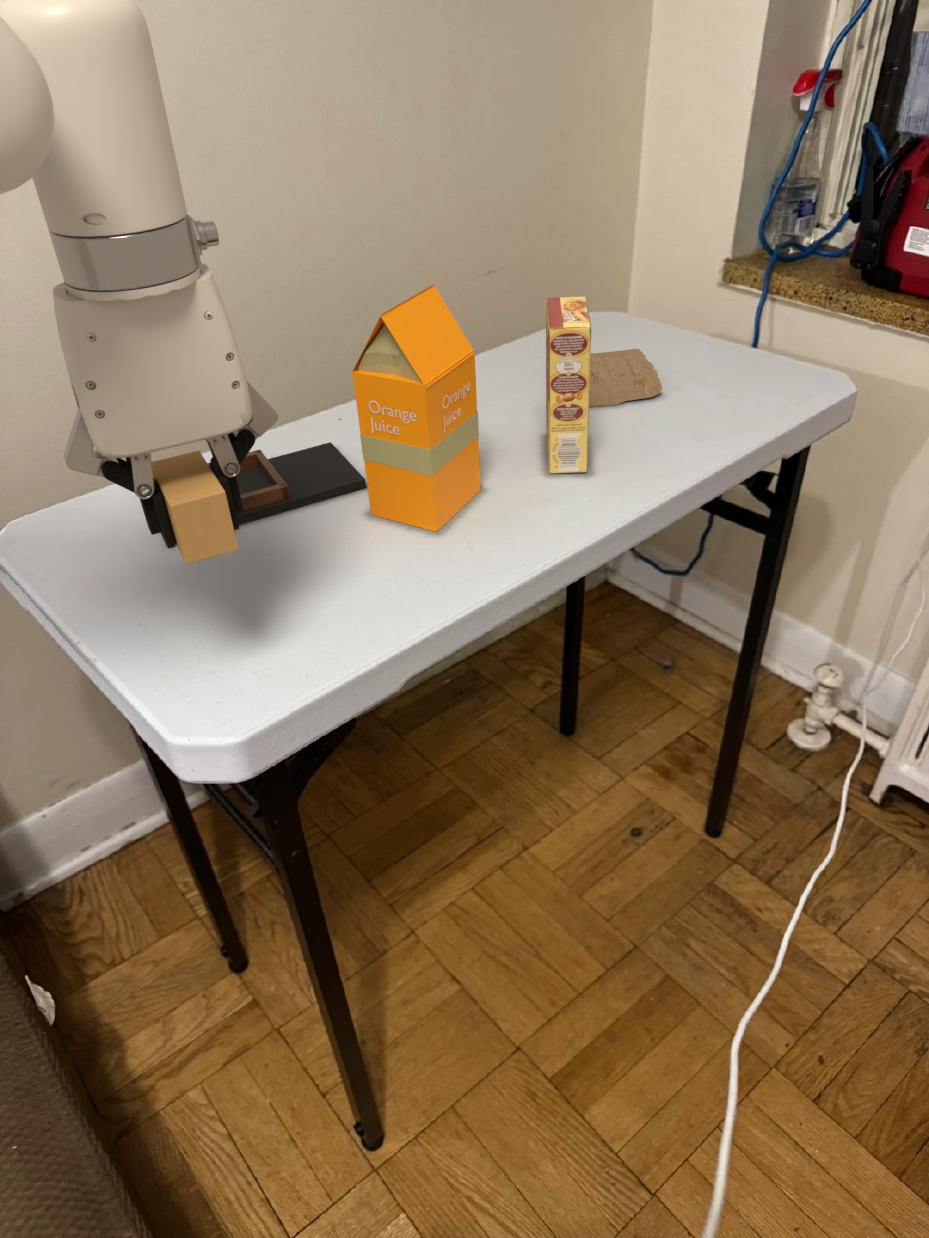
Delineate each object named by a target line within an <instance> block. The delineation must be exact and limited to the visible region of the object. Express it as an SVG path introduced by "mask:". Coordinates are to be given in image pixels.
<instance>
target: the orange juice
mask: <svg viewBox="0 0 929 1238" xmlns="http://www.w3.org/2000/svg"><path fill="white" fill-rule="evenodd" d="M475 354H476V352H475V349H474V348H473V346H472V345H471V344H470V342H469V340H468V339H467V337H466V335H465V334H464V332H463V331H462V328H461V327H460V325H459V323H458V322H457V321H456V319H455V317H454V316H453V314H452V312H451V311H450V309H449V307H448V305H447V304H446V302H445V300H444V299H443V297H442V296H441V293H440V292H439V291H438V289H437V288H436V286H435V283H434V284H432V285H430V286H427V288H424V289H423V290H422V291H420V292H418V293H416V294H414V295H412V296H411V297H409V298H407V299H405V300H404V301H402V302H400V303H399V304H397V305H395V306H393V307H392V308H390V309H389V310H386V311H384V312H383V313H381V314H380V316H379V318H378V320H377V323H376V324H375V325H374V328H373V330H372V332H371V334H370V336H369V338H368V340H367V342H366V344H365V345H364V348H363V350H362V352H361V353H360V355H359V357H358V359H357V361H356V364H355V365H354V368H353V369H352V371H351V374H352V381H353V388H354V396H355V403H356V408H357V409H356V410H357V418H358V426H359V433H360V434H359V437H360V444H361V452H362V460H363V462H364V470H365V476H366V477H365V478H366V486H367V491H368V498H369V507H370V515H371V516H374V517H379V518H382V519H386V520H390V521H394V522H396V523H401V524H404V525H409V526H413V527H416V528H419V529H424V530H427V531H430V532H431V531H432V532H435V533H437V532H438V531H440V530H441V529H442V528H443V527H444V526H445V525H446V524H447V523H448V522H450V520H451V519H452V518H453V517H455V515H456V514H457V513H458V512H459V511H461V510H462V509H463V508H464V507H465V506H466V505H467V504H468V503H469V502H470V501H471V500H473V498H474V497H475V496H476V495H477V494H479V493H480V492H481V490H482V487H481V486H482V485H481V466H480V464H481V463H480V443H479V441H480V440H479V437H480V431H479V412H478V399H477V398H478V397H477V395H478V394H477V376H476V373H477V372H476V355H475Z"/></svg>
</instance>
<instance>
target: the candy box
mask: <svg viewBox="0 0 929 1238" xmlns="http://www.w3.org/2000/svg"><path fill="white" fill-rule="evenodd" d="M586 298H587V297H586V296H563V297H548V298H547V299H546V300H545V301H546V303H545V304H546V307H545V309H546V310H545V403H546V404H545V410H546V411H545V412H546V413H545V414H546V418H545V419H546V445H547V459H548V472H549V474H567V473H568V474H569V473H570V474H571V473H573V474H574V473H587V472H588V462H589V460H588V458H589V429H590V427H589V426H590V406H589V396H590V360H591V354H592V321H591V318H590V312H589V307H588V303H587V299H586Z"/></svg>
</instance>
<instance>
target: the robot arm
mask: <svg viewBox="0 0 929 1238" xmlns="http://www.w3.org/2000/svg"><path fill="white" fill-rule="evenodd" d="M147 23H148V22H147V21H146V18H145V16H144V14H143V12H142V10H141V9H140V7H139V5H138V4H137V3H136V2H135V0H0V195H4V194H5V193H8V192H11V191H13V190H16V189H18V188H20V187H21V186H23V185H24V184H26V183H27V182H28V181H30V180H31V179H32V181H33V185H34V187H35V192H36V194H37V196H38V200H39V204H40V206H41V210H42V212H43V216H44V219H45V222H46V226H47V229H48V233H49V237H50V240H51V244H52V247H53V249H54V253H55V256H56V260H57V263H58V266H59V270H60V273H61V276H62V280H63V282H60V283H58V284H56V285H55V286H54V287H53V288H52V298H53V308H54V315H55V321H56V328H57V332H58V333H57V334H58V338H59V343H60V346H61V351H62V355H63V358H64V362H65V367H66V370H67V374H68V377H69V382H70V385H71V388H72V392H73V396H74V400H75V402H76V406H77V411H76V414H75V418H74V421H73V423H72V424H73V425H72V428H71V431H70V434H69V437H68V440H67V443H66V447H65V450H64V453H63V458H64V460H65V463H66V466H67V467H68V469H69V470H71V471H73V472H74V471H75V472H79V473H82V474H86V475H91V476H94V477H102V478H104V479H106V480H107V481H109V482H111V483H113V484H115V485H117V486H119V487H122V488H123V489H125V490H128V491H130V492H132V493H133V494H135V496H136V497H137V498H138V499H139V501H140V504H141V508H142V511H143V515H144V518H145V522H146V524H147V528H148V530H149V533H150V535H151V536H153V535H158V534H160V535H161V537H162V539H163V541H164V543H165V546H166V548H167V549H173V548H176V546H177V545H176V544H177V541H176V537H175V534H174V530H173V526H172V523H171V519H170V516H169V512H168V509H167V505H166V501H165V498H164V496H163V494H162V492H161V490H160V488H159V486H158V484H157V482H156V480H155V479H154V477H153V472H152V462H153V461H152V453H154V452H159V451H163V450H167V449H171V448H177V447H179V446H184V445H189V444H193V443H197V442H201V441H205V442H206V444H207V447H208V449H209V451H210V454H211V456H212V457H211V458H210V460H209V461H210V462H211V463H210V462H208V463H209V465H210V468H211V470H212V472H213V473H214V475H215V476H216V478H217V480H218V481H219V483H220V484H221V486H222V487H223V489H224V491H225V492H226V497H227V501H228V505H229V510H230V514H231V519H232V523H233V527H234V531H238V530H240V525H238V520H237V516H236V512H240V511H243V505H242V501H241V496H240V492H239V487H238V483H237V478H236V475H238V473H239V472H240V464H241V463H242V461H243V460H244V458H245V457H246V455H247V454H248V452H251V450H252V448H253V447H254V446H255V443H256V440H258V439H259V438H261V437H262V436H263V435H264V434H266V432H268V430H270V428H271V427H273V426H274V425H275V424H276V423H277V422H278V419H279V414H278V412H277V411H275V409H274V408H273V407H272V406H271V404H269V402H267V401H266V399H264V397H263V395H261V394H260V393H259V392H258V391H257V390H256V389H255V387H253V386H252V384H251V383H249V381H248V380H247V377H246V373H245V368H244V366H243V362H242V359H241V355H240V352H239V348H238V344H237V341H236V337H235V335H234V330H233V327H232V324H231V321H230V318H229V315H228V313H227V309H226V306H225V303H224V299H223V298H222V295H221V293H220V290H219V288H218V285H217V283H216V280H215V277H214V275H213V272H212V271H211V270H210V268H209V266H208V265H207V264H205V263H202V261H201V256H203V251H206V250H208V248H210V247H216V246H219V245H220V237H219V232H218V230H217V226H216V223H215V222H214V220H211V221H203V222H202V221H201V220H195V219H194V218H193V217H192V216H190V215H189V214H188V209H187V205H186V200H185V195H184V191H183V187H182V186H183V185H182V181H181V176H180V172H179V167H178V162H177V158H176V154H175V153H176V152H175V148H174V144H173V139H172V133H171V130H170V129H171V128H170V124H169V121H168V116H167V111H166V105H165V101H164V96H163V91H162V87H161V86H162V85H161V81H160V77H159V73H158V67H157V63H156V58H155V53H154V47H153V44H152V43H153V42H152V40H151V39H152V38H151V35H150V32H149V28H148V27H149V26H148V24H147ZM94 448H95V449H94Z"/></svg>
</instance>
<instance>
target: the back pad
mask: <svg viewBox="0 0 929 1238" xmlns="http://www.w3.org/2000/svg"><path fill="white" fill-rule="evenodd" d="M209 463H211V462H207V464H208V465H209ZM209 467H210V465H209ZM236 478H237V483H238V487H239V492H240V496H241V501H242V505H243V511H240V512H236V516H237V520H238V525H239V526H240V525H243V524H246V523H250V522H253V521H256V520H260V519H263V518H267V517H270V516H273V515H278V514H281V513H284V512H287V511H291V510H294V509H298V508H300V507H305V506H308V505H311V504H315V503H318V502H322V501H325V500H328V499H332V498H335V497H339V496H343V495H345V494H349V493H353V492H355V491H359V490H363V489H366V488H367V481H366V479H365V478H364V476H362V474H361V473H360V472H359V471H358V470H357V469H356V468H355V467H354V465H352V463H351V462H350V461H349V459H347V458H346V457H345V456H344V455H343V453H342V452H341V451H340V450H339V449H338V448H337V447H336V446H335V445H334V444H333V443H332V442H327V443H322V444H319V445H315V446H311V447H308V448H304V449H301V450H296V451H293V452H289V453H286V454H282V455H277V456H274V457H270V458H267V457H266V455H265V454H264V452H263V451H262V449H255V450H252V451H249V452H248V454H247V455H246V457H245V458H244V460H243V461H242V463H241V464H240V472H239V473H238V475H236Z"/></svg>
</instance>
